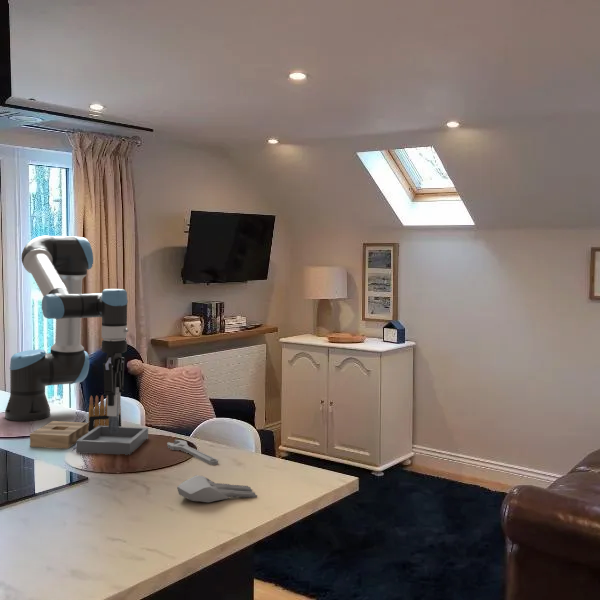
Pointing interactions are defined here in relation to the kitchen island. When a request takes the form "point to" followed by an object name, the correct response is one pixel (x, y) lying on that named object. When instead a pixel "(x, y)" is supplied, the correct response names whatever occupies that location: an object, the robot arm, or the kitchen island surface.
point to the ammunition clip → (95, 415)
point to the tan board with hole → (58, 434)
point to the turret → (211, 490)
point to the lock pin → (115, 417)
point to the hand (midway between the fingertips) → (113, 414)
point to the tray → (112, 440)
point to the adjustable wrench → (191, 451)
